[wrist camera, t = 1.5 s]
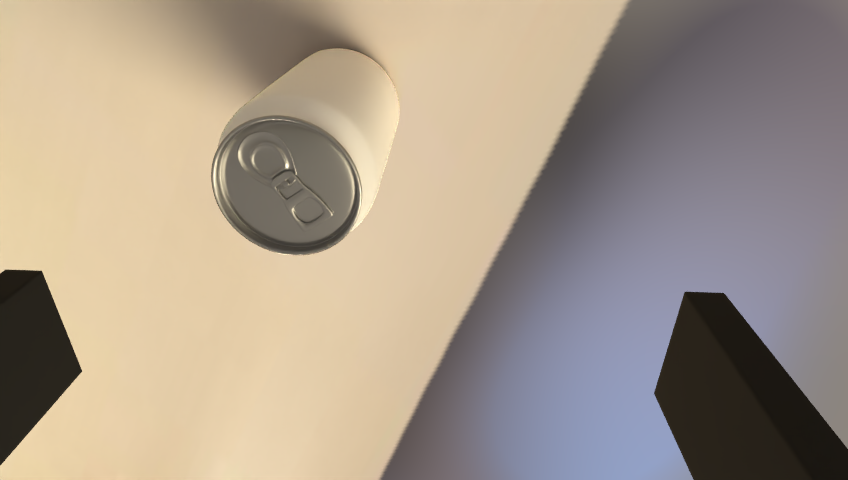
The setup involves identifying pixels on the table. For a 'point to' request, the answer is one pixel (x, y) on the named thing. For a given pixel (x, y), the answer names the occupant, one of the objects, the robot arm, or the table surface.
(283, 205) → the can
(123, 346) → the table surface
